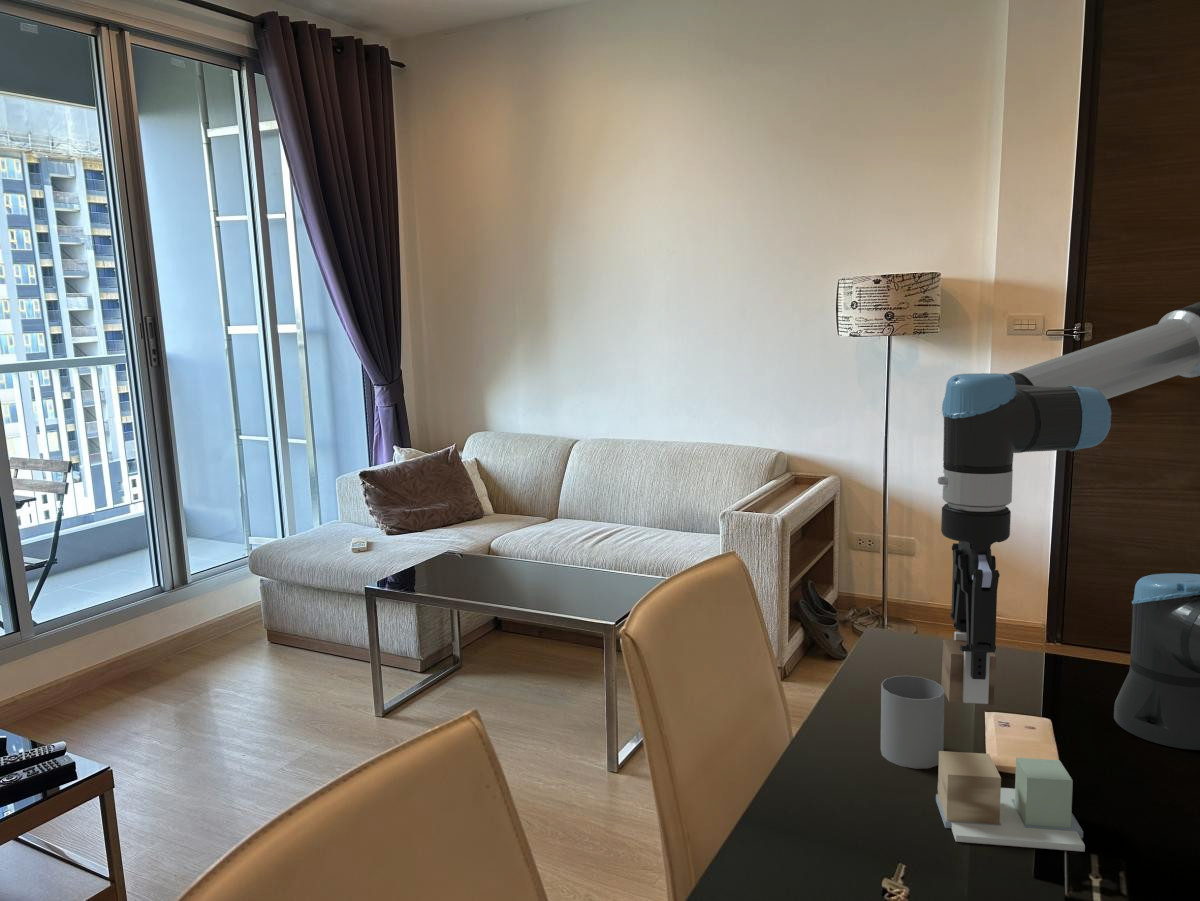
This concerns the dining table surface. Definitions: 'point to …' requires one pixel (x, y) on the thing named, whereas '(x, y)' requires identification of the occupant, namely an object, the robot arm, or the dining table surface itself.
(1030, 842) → the board
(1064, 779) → the sage block
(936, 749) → the cup
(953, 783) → the oak base
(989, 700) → the walnut block
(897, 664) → the dining table surface
